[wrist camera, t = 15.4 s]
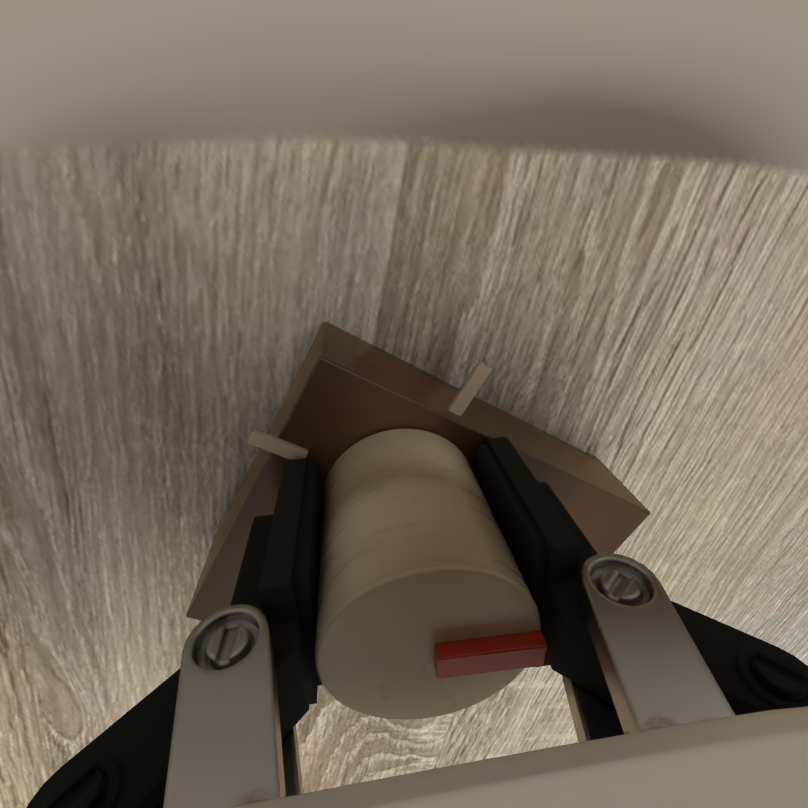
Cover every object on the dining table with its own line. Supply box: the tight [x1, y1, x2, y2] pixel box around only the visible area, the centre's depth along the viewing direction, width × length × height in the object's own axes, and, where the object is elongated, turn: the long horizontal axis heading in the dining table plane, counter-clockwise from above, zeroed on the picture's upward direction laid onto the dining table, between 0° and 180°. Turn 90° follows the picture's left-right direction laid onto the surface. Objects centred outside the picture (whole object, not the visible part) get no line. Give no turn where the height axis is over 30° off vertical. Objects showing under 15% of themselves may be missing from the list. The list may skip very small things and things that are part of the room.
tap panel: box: [186, 322, 650, 620], centre depth 14 cm, size 12×11×3 cm
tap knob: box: [315, 429, 548, 720], centre depth 9 cm, size 4×4×5 cm
